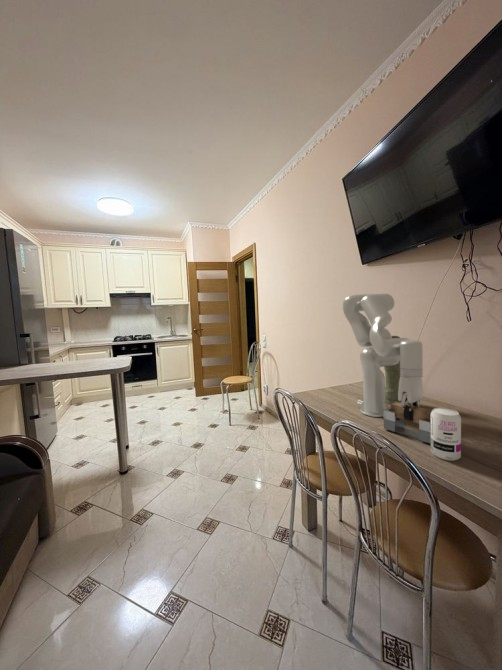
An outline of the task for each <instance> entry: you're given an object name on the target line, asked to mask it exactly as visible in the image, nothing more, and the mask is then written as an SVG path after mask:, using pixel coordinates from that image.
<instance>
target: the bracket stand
mask: <svg viewBox="0 0 502 670" xmlns="http://www.w3.org/2000/svg"><path fill="white" fill-rule="evenodd" d="M405 424H406V420H404V419H400V418H397V417H396V412H392V411H391V406H389V407H387V408H386V409H385V410H384V417H383V429H384V430H386V431H387V430H388V431H391V432H394V433H396V434H399V435H403V436H406V437H409V438H412V439H415V440H417V441H421V442H424V443H427V444H430V445H431V422H430V421H426V420H422V419H420V420H419V424H418V427H419V428H418V429H419V431H416V430H413V429H410V428H407V427H406V425H405Z"/></svg>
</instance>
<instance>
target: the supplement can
mask: <svg viewBox="0 0 502 670" xmlns="http://www.w3.org/2000/svg"><path fill="white" fill-rule="evenodd" d="M432 410H433V411H432V412H431V444H430V451H431V453H432V454H433V455H434V456H435V457H436V458H439V459H442V460H445V461H452V462H455V461H458V460H459V459H460V458H462V416H461V415H460V413H459V412H458V411H457V410H455V409H451V408H447V407H435V408H433V409H432Z"/></svg>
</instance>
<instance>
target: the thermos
mask: <svg viewBox="0 0 502 670" xmlns="http://www.w3.org/2000/svg"><path fill="white" fill-rule="evenodd" d="M391 336H392V338H401V337H400V336H398V335H391ZM383 369H384V371H385V373H384V376H385V404H388V405H391V404H392V403H394V402H400V403H401V401H399V400H398V390H399V380H400V360H399V362H398V364H396V365H393V366H384V367H383Z"/></svg>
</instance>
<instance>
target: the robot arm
mask: <svg viewBox="0 0 502 670" xmlns="http://www.w3.org/2000/svg"><path fill="white" fill-rule="evenodd" d="M394 307H395V300H394V297H393V296H392V295H391V294H389V293H369V294H352V295H349V296H347V297H345V298H344V299H343V303H342V311H343V315H344V316H345V318H346V320H347V322H348V323H349V325H350V326H351V328H352V332H353V334H354V337H355V340H356V342H357V344H358V345H359V346H360V347H362V348H364V349H362V350H361V351H360V355H359V357H360V363H361V369H362V391H363V394H362V395H363V400H361V399H358V400H357V403H356V405H358V406H360V409H359V411H360V413H361V414H362V415H365V416H368V417H373V418H382V417H383V418H384V410H385V409H387V408H386V402H385V387H386V382H385V373H383V371H382V370H381V368H382V367H383V368H384V366H393V365H396V364H398V362H399V360H400V380H399V390H398V400H399V401H401V406H403V410H404V419H405V421H407V420H409V421H408V422H411V421H413V411H412V406H416V407H420V402H421V399H422V398H423V380H422V378H423V375H424V374H423V371H424V369H423V365H424V364H423V357H424V356H423V342H422V341H420V340H417V339H410V338H407V337H400V338H392V336H393V335H392V334H391V332H390V331H389V330H388V329H387V328H386V327H387V326H388V325H389V324H391V322H392V318H393V317H392V315H391V314H390V313H389V312H390V311H392V310H393V308H394ZM361 312H364V313H365V315H366V316H365V315H364V314H363V313H361ZM407 404H408V405H409V406H408V405H407Z"/></svg>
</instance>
